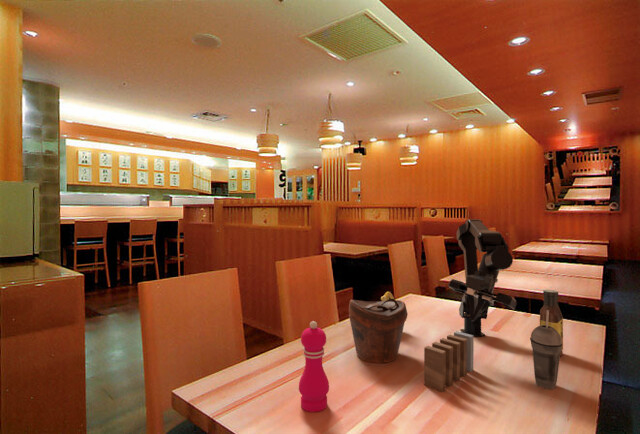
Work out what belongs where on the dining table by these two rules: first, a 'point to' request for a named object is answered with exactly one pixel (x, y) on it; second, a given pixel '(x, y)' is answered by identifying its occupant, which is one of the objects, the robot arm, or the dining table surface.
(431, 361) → the domino
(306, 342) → the pepper mill
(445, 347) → the domino
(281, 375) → the dining table surface
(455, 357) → the domino
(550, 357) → the beverage cup
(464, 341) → the domino
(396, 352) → the brown wooden tapered container
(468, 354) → the domino
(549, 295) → the sauce bottle
